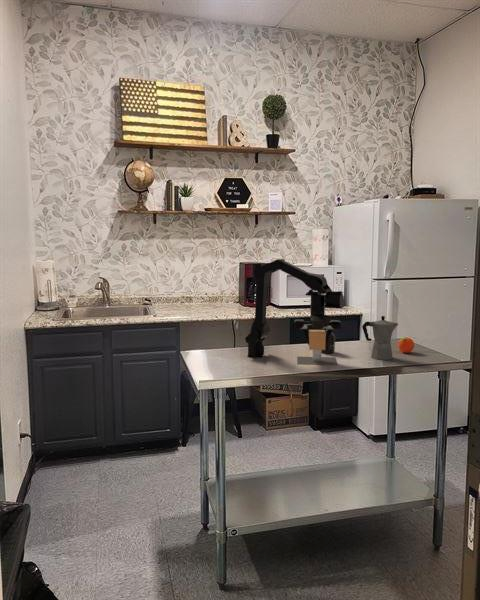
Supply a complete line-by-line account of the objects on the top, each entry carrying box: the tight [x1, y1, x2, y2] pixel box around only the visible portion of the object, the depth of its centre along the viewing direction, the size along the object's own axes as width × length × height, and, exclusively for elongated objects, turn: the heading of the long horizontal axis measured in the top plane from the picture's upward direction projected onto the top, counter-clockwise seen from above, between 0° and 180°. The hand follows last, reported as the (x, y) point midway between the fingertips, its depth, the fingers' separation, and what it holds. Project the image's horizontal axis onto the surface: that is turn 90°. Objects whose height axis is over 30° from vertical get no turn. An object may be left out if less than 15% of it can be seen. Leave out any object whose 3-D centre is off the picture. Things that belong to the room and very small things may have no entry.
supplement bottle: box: [321, 326, 336, 355], centre depth 226 cm, size 7×7×12 cm
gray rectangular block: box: [312, 350, 322, 362], centre depth 210 cm, size 3×3×6 cm
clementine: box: [397, 336, 415, 354], centre depth 229 cm, size 8×7×7 cm
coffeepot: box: [361, 315, 399, 361], centre depth 219 cm, size 15×9×18 cm, turn 93°
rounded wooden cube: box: [308, 329, 326, 351], centre depth 209 cm, size 6×6×7 cm
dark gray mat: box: [296, 355, 339, 366], centre depth 210 cm, size 16×14×1 cm
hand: (316, 345), depth 209 cm, fingers closed on rounded wooden cube, 6 cm apart
